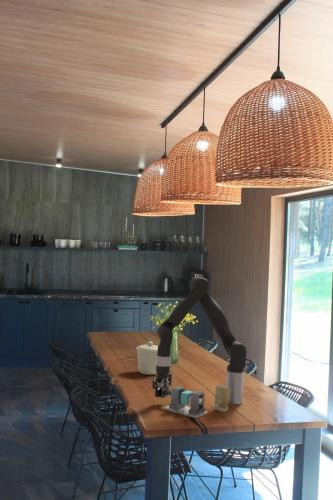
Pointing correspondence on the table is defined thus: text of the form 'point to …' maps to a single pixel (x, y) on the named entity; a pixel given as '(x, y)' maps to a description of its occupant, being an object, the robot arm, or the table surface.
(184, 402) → the spacer
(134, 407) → the table surface
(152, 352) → the canister
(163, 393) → the shaft
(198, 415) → the bearing stand
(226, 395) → the skincare box
